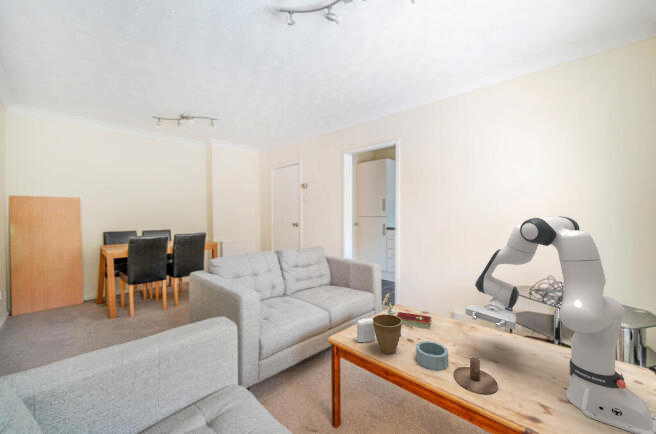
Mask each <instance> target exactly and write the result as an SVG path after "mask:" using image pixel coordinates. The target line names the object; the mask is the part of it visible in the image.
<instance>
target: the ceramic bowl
mask: <svg viewBox="0 0 656 434" xmlns="http://www.w3.org/2000/svg"><path fill="white" fill-rule="evenodd" d="M415 345H416V346H415V353H416V356H415V357H416V359H415V360H416V362H417V363H418V364H419V365H420V366H422V367H424V368H425V369H427V370H432V371H443V370H446V369H447V368H448V367H449V351H448V350H449V349H448V348H447V347H446V346H445V345H443V344H441V343H439V342H436V341H429V340H425V341H420V342H418V343H416V344H415Z"/></svg>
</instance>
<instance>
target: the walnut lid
mask: <svg viewBox="0 0 656 434" xmlns="http://www.w3.org/2000/svg"><path fill="white" fill-rule="evenodd" d="M453 378H454V381H455V382H456V383H457V384H458V385H459V386H460V387H462V388H463V389H465V390H466V391H469V392H471V393H474V394H476V395H477V394H478V395H484V396H486V395H494V394H495V393H497V392H498V389H499V384H498V382H497V381H496V379H495V378H494V377H493V376H492V375H491V374H489V373H487V372H486V371H483V370H482V369H481V360H480V359H479V358H477V357H473V356H472V357H470V359H469V366H461V367H460V366H459V367H458V368H457V367H456V368H455V369H454V370H453Z"/></svg>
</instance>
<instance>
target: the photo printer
mask: <svg viewBox="0 0 656 434" xmlns="http://www.w3.org/2000/svg"><path fill="white" fill-rule="evenodd" d="M375 340H376V334H375V330H374V325H373V318H362V319H359V320H357V322H356V341H358V343H359V342H363V343H370V342H374V341H375Z"/></svg>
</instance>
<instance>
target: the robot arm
mask: <svg viewBox="0 0 656 434" xmlns="http://www.w3.org/2000/svg"><path fill="white" fill-rule="evenodd" d="M539 245H540V246H541V245H542V246H544V247H549V246H550V245H551V246H552V247H554V248H555V249H556V250H557V255H558V258H559V259H558V260H559V263H560V269H561V273H562V278H563V279H562V280H563V295H562V304H561V307H560V308H559V311H558V316H559V319H560V321H561V323H562V324H563V325H564V326H565V327H566V328H568V329H569V330H571V331H573V332H574V333H573V334H572V335H573V336H572V337H571V340H570V354H571V356H570V360H569V365H568V366H569V367H568V371H569V374H570V377H569V383H568V387H567V389H566V392H565V397H566V399H567V400H568V401H569V402H570V403H571V404H572V405H574V406H575V407H576V408H577V409H580V411H581V412H582V414H584V415H585V416H586V417H588V418H590V419H593V420H594V421H595V420H596V421H598V422H601V423H604V424H607V425H610V426H613V427H616V428H618V429H621V430H623V431H627V432H629V433H633V434H656V416H654V415H653V413H651V412H650V409H649V407H648V405H647V403H646V402H645V401H644V400H643V398H641V397H640V396H639V395H638V394H637V393H635V392H634V391H632V390H631V389H630V388H629V387H627V383H626V382H625V377H624V375H623V373H622V372H620V373H619V372H617V371H616V350H617V345H618V340H619V336H620V332H621V328H622V322H623V321H624V318H625V317H626V310H625V308H624V306H623V305H622V303H620V302H619V301H618V300H617V299H614V298H612V297H610V296H605V295H604V289H605V285H606V283H607V281H606V280H607V279H606V276H605V272H604V267H603V264H602V260H601V256H600V253H599V249H598V247H597V245H596V243H595V240H594V239H593V236H591V234H590V233H588V232H587V231H583V230H580V225H579V224H578V222H577V221H576V220H575V219H573V218H570V217H567V216H542V217H540V216H539V217H531V218H529V219H526V220H524V221H523V222H522V223H520V224H517V225H516V226H515V227H514V228H513V230H512V232H511V233H510V235H509V238H508V240H507V243H506V244H505V246H504V247H503V248H501V249H497V250H496V251H495V252H494V253H493V254H492V256H491V257H490V259H489V261H488V262H487V263H486V265H485V267H484V269H483V270H482V272H481V274H479V276H478V277H477V278H476V281H475V285H474V286H475V288H476V290H477V291H478V292H479V293H482V294H485V295H487V296H490V297H491V299H490V300H489V301H488V302H487V303H486V304H485V305H484V306H481V305H478V304H477V305H476V304H470V305H468V306H466V308H465V314H466V315H467V316H470V317H472V320H474V321H477V319H478V320H482V321H485V322H488V323H492V324H494V325H495V327H496V328H499V329H500V328H503V327H504V328H508V329H510V330H516V328H517V313H516V311H515V310H513V309H512V308H513V307H514V306H515V305H516V303H517V302H518V300H519V296H520V292H519V290H518V288H517V287H516V285H514V284H511V283H508V282H506V281H504V280H501V279H499V278H496V277H495V276H493V273H494V272H495V270H496V268H497V267H498V266H499V265H512V266H518V265H519V266H520V265H525V264H528V263H530V262H531V261H532V260H533V258H534V257H535V254H536V252H537V249H538V246H539Z"/></svg>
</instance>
